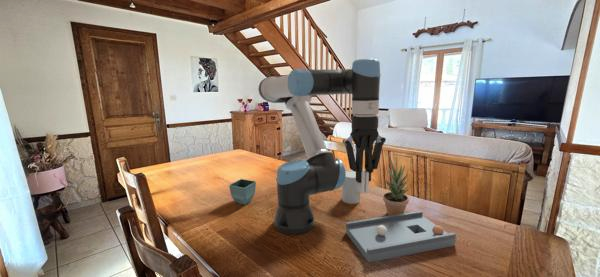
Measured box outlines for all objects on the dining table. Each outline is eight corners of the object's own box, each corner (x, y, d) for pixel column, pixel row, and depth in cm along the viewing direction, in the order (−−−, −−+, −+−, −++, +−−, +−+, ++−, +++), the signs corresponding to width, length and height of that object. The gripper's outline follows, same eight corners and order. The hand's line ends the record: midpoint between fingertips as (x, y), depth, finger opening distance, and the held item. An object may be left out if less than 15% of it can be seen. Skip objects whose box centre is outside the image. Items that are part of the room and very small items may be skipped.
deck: (368, 262, 74) (368, 250, 73) (345, 232, 89) (345, 222, 88) (454, 245, 80) (455, 234, 80) (420, 220, 96) (420, 210, 95)
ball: (379, 238, 81) (380, 229, 80) (374, 233, 84) (374, 224, 83) (388, 236, 82) (389, 227, 81) (383, 231, 85) (383, 222, 84)
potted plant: (379, 208, 106) (381, 150, 101) (402, 208, 106) (405, 150, 101) (386, 220, 96) (389, 157, 91) (412, 220, 96) (416, 157, 91)
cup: (360, 204, 110) (361, 178, 108) (341, 203, 112) (341, 177, 109) (360, 196, 118) (360, 171, 116) (342, 195, 120) (342, 171, 117)
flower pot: (257, 199, 118) (256, 181, 116) (246, 207, 110) (244, 188, 108) (242, 196, 121) (240, 178, 120) (230, 204, 114) (228, 185, 112)
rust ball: (436, 238, 80) (437, 229, 79) (429, 233, 83) (430, 224, 82) (445, 237, 81) (446, 228, 80) (437, 231, 84) (438, 222, 83)
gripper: (348, 117, 68) (347, 199, 73) (393, 115, 71) (389, 193, 76) (337, 115, 76) (337, 189, 80) (379, 112, 79) (376, 184, 83)
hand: (363, 191), depth 78 cm, fingers closed
